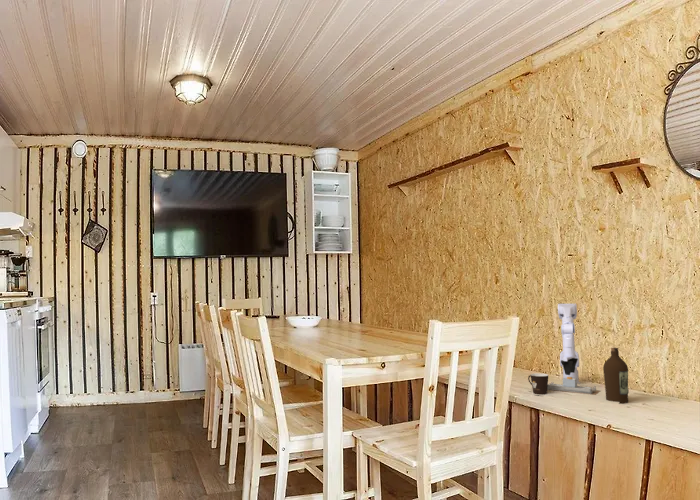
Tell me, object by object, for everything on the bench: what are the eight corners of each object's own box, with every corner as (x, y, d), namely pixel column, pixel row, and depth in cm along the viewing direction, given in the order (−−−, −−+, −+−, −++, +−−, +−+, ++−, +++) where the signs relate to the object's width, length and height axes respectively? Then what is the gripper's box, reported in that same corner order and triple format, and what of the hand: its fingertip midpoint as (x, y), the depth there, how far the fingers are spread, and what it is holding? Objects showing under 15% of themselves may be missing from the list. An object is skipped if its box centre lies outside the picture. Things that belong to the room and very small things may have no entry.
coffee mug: (551, 396, 278) (550, 376, 279) (534, 396, 278) (533, 376, 279) (544, 391, 290) (543, 372, 290) (527, 392, 290) (526, 372, 291)
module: (565, 387, 291) (564, 376, 291) (577, 388, 287) (576, 377, 287) (563, 388, 287) (562, 377, 288) (575, 389, 284) (574, 378, 284)
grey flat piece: (552, 386, 298) (551, 382, 298) (596, 390, 285) (595, 386, 285) (546, 389, 291) (546, 384, 291) (591, 394, 278) (591, 389, 278)
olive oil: (600, 401, 266) (597, 348, 267) (613, 397, 272) (610, 346, 273) (621, 405, 257) (618, 350, 258) (634, 401, 263) (631, 348, 264)
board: (549, 387, 300) (548, 386, 300) (600, 392, 284) (600, 390, 284) (542, 391, 291) (542, 389, 291) (595, 396, 276) (595, 394, 276)
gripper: (564, 344, 296) (566, 370, 296) (556, 348, 285) (557, 375, 284) (578, 345, 292) (580, 372, 291) (570, 348, 280) (572, 376, 280)
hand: (569, 373), depth 287 cm, fingers open, 7 cm apart
